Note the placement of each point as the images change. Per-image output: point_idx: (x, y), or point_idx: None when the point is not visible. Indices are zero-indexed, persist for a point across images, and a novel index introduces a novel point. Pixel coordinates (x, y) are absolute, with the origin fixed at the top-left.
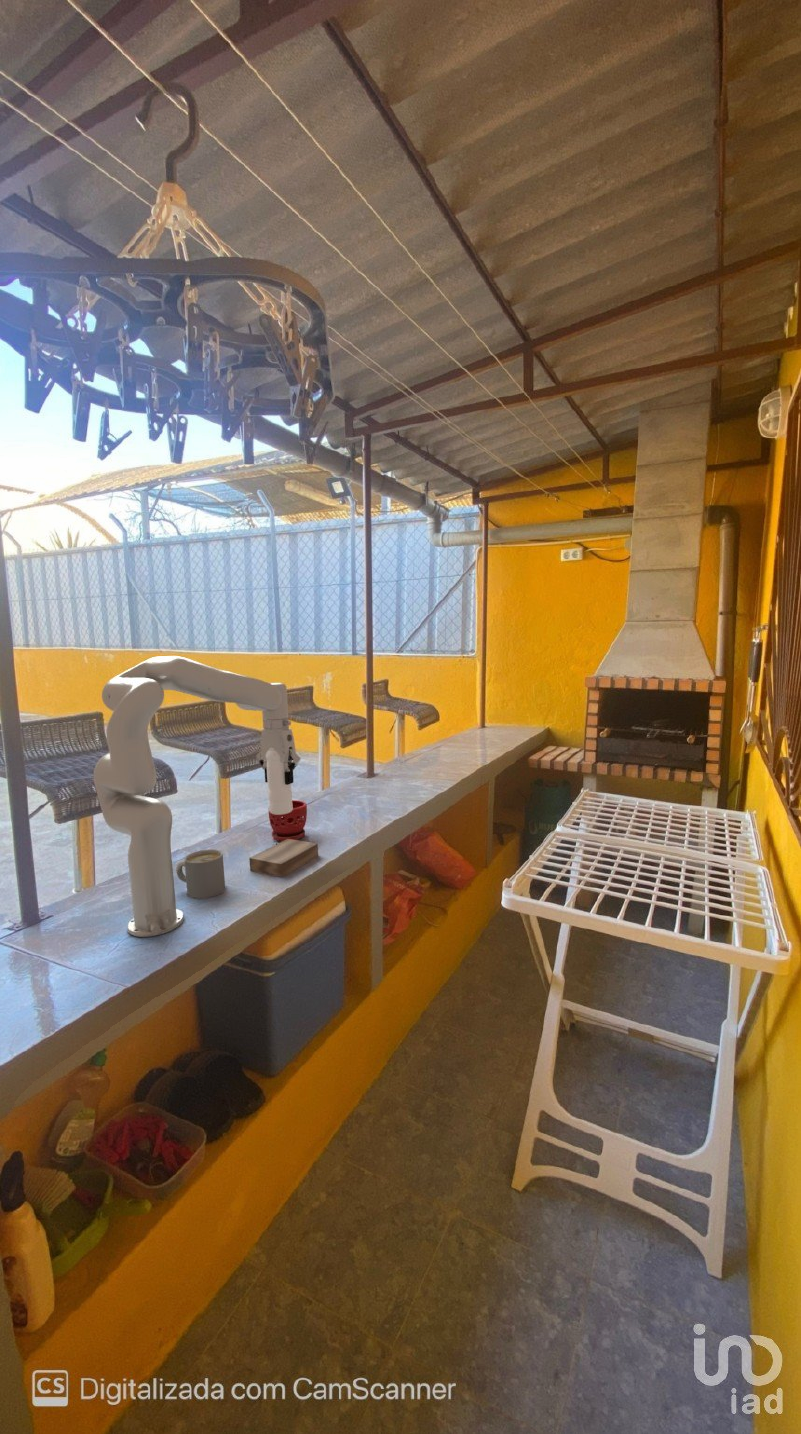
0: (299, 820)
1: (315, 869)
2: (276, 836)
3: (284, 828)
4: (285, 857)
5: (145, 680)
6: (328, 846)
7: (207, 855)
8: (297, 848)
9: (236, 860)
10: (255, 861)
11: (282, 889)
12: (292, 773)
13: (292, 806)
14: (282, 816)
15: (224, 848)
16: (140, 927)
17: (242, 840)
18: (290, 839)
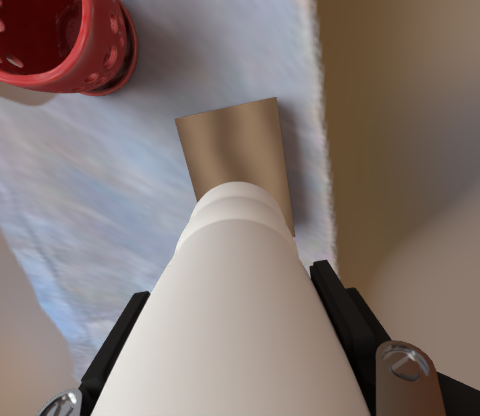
0: (118, 21)
1: (321, 161)
2: (97, 93)
3: (109, 79)
4: None
5: None
6: (245, 28)
7: None
8: (255, 154)
9: (143, 223)
10: None
11: (328, 254)
12: (383, 335)
13: (275, 202)
14: (85, 77)
15: (54, 197)
16: None
17: (27, 139)
18: (186, 118)
